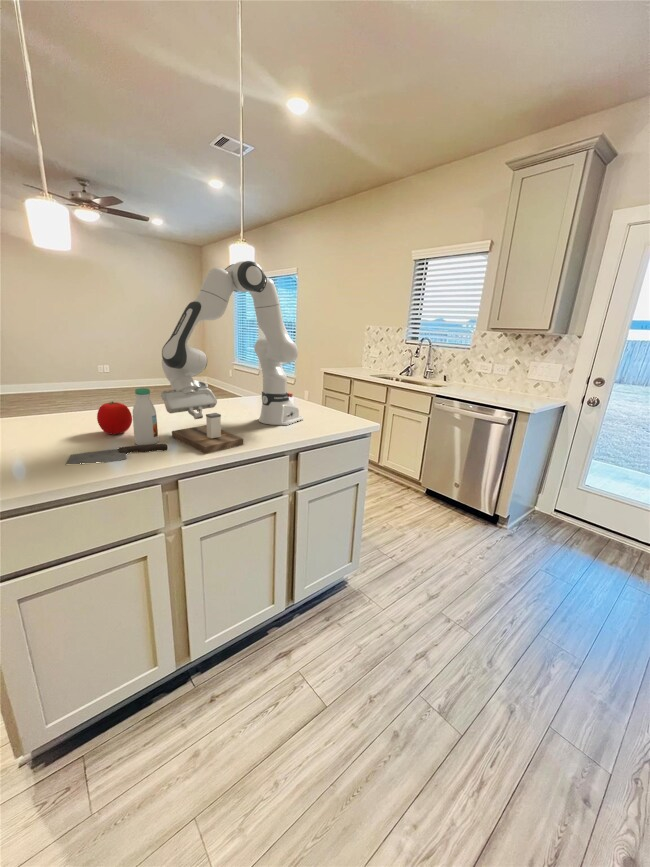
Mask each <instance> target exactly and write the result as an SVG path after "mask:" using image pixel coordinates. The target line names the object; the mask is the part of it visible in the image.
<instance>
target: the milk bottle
mask: <svg viewBox="0 0 650 867" xmlns="http://www.w3.org/2000/svg"><path fill="white" fill-rule="evenodd" d="M134 392H135V396H136V399H135V403H134V405H133V408H132V426H133V434H134V444H135V445H149V444H159V443H158V442H159V431H158V419H157V411H156V408H155V406H154V404H153V402H152V400H151V398H150V396H151V390H150V389H149V388H146V387H145V388H144V387H141V388H140V387H139V388H135V390H134Z"/></svg>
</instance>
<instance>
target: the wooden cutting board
mask: <svg viewBox="0 0 650 867" xmlns="http://www.w3.org/2000/svg"><path fill="white" fill-rule="evenodd" d="M171 438H173V439H176V440H177V441H179V442H180V443H183V444H185V445H187V446H189V447H191V448H193V449H195V450H197V451H199V452H201V453H203V454H205V455H206V454H210V453H215V452H218V451H223V450H226V449H230V447H231V448H235V447H234V446H236V447H240V446H243V445H244V437H242V436H241V437H240V436H239V435H236V434H234V433H230V432H229V431H226V430H223V429H221V437H217V438H212V439H211V438H209V437H207V424H205V425H198V426H193V427H187V428H180V429H176V430H172V431H171ZM239 445H240V446H239Z"/></svg>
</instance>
